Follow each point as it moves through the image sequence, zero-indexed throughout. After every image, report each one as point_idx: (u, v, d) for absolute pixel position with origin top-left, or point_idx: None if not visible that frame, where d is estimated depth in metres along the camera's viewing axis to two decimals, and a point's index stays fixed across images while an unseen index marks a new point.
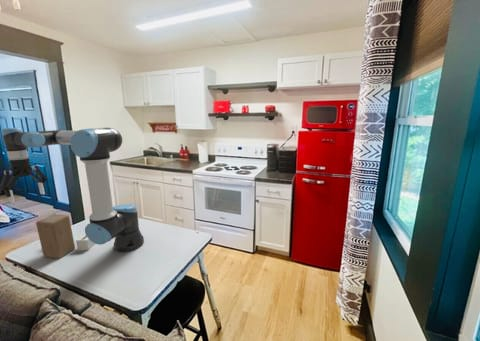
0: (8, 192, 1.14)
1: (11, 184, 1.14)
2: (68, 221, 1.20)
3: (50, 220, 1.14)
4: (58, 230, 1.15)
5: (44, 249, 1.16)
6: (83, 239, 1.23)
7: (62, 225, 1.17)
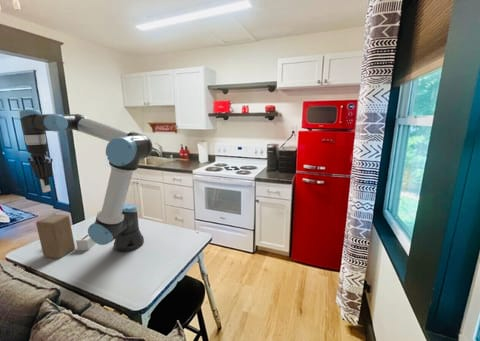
0: None
1: (37, 172, 1.11)
2: (68, 221, 1.20)
3: (50, 220, 1.14)
4: (58, 230, 1.15)
5: (44, 249, 1.16)
6: (83, 239, 1.23)
7: (62, 225, 1.17)
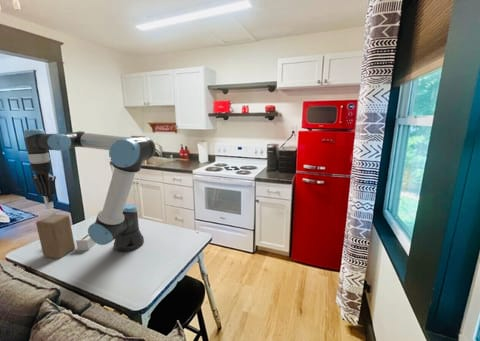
0: (44, 197, 1.14)
1: (41, 189, 1.13)
2: (68, 221, 1.20)
3: (50, 220, 1.14)
4: (58, 230, 1.15)
5: (44, 249, 1.16)
6: (83, 239, 1.23)
7: (62, 225, 1.17)
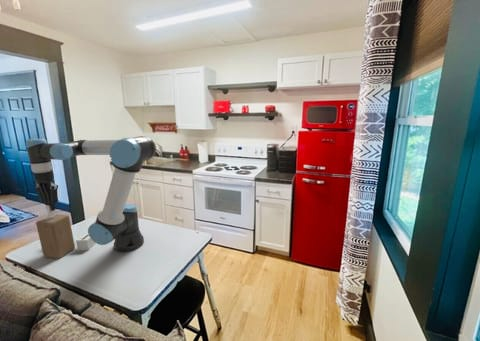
0: None
1: (43, 198, 1.14)
2: (68, 221, 1.20)
3: (49, 220, 1.14)
4: (58, 230, 1.15)
5: (44, 249, 1.16)
6: (83, 239, 1.23)
7: (62, 225, 1.17)
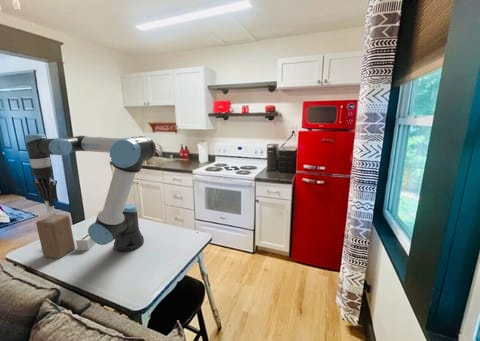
0: None
1: (42, 193, 1.13)
2: (68, 221, 1.20)
3: (50, 220, 1.14)
4: (58, 230, 1.15)
5: (44, 249, 1.16)
6: (83, 239, 1.23)
7: (62, 225, 1.17)
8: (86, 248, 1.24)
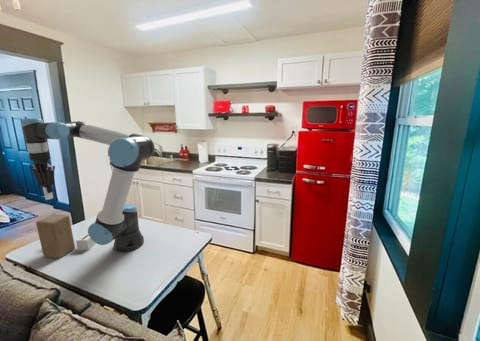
0: None
1: (40, 180, 1.12)
2: (68, 221, 1.20)
3: (50, 220, 1.14)
4: (58, 230, 1.15)
5: (44, 249, 1.16)
6: (83, 239, 1.23)
7: (62, 225, 1.17)
8: (86, 248, 1.24)
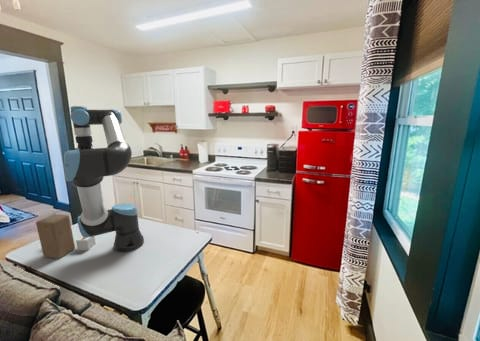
0: None
1: None
2: (68, 221, 1.20)
3: (49, 220, 1.14)
4: (58, 230, 1.15)
5: (44, 249, 1.16)
6: (83, 239, 1.23)
7: (62, 225, 1.17)
8: (86, 248, 1.24)
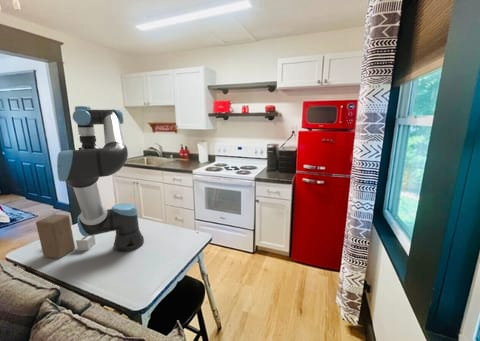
0: None
1: None
2: (68, 221, 1.20)
3: (49, 220, 1.14)
4: (58, 230, 1.15)
5: (44, 249, 1.16)
6: (83, 239, 1.23)
7: (62, 225, 1.17)
8: (86, 248, 1.24)
